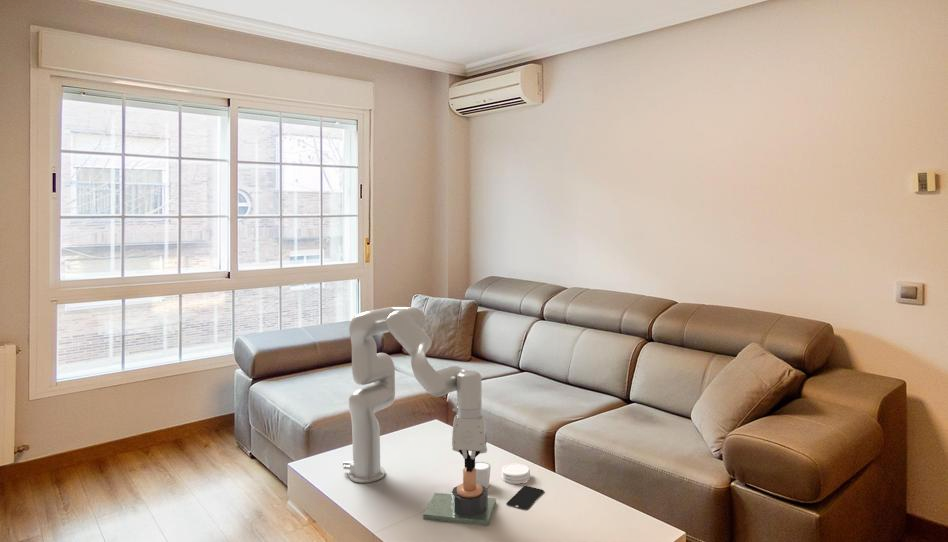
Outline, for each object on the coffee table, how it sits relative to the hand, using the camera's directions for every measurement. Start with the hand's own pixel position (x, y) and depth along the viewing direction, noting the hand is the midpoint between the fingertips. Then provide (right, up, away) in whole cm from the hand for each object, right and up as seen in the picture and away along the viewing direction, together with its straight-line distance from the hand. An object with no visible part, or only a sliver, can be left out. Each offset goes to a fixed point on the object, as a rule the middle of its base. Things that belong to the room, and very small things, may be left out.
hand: (469, 469), depth 179 cm
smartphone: (+18, -13, +10) cm, 24 cm away
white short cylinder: (+16, -12, +25) cm, 32 cm away
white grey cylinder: (+3, -12, +19) cm, 23 cm away
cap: (0, -10, +1) cm, 10 cm away
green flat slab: (-3, -13, +2) cm, 14 cm away
